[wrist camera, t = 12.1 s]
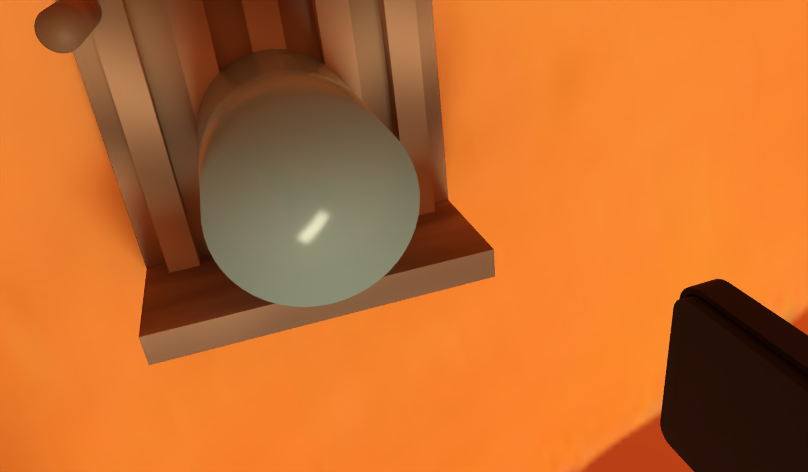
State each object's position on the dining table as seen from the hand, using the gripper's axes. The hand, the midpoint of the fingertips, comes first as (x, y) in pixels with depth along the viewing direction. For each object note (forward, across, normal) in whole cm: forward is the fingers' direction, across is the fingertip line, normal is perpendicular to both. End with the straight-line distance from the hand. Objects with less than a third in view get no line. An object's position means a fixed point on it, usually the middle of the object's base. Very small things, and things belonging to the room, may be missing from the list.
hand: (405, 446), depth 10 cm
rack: (+19, -1, 0) cm, 19 cm away
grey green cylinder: (+17, 0, 0) cm, 17 cm away
